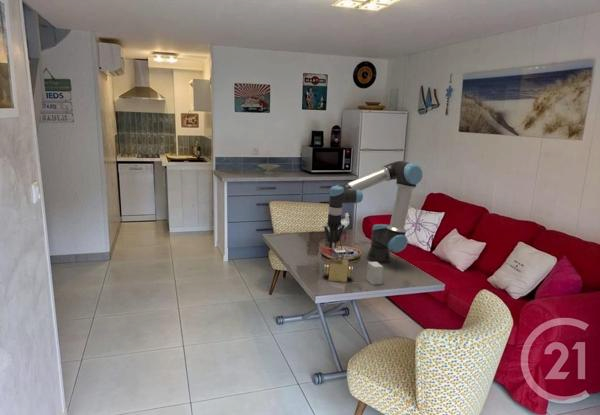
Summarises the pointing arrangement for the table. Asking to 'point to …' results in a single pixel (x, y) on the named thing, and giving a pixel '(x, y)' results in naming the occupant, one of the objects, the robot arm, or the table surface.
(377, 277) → the small box
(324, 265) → the pipe
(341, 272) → the valve body
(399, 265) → the table surface
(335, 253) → the lever
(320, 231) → the table surface
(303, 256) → the table surface
